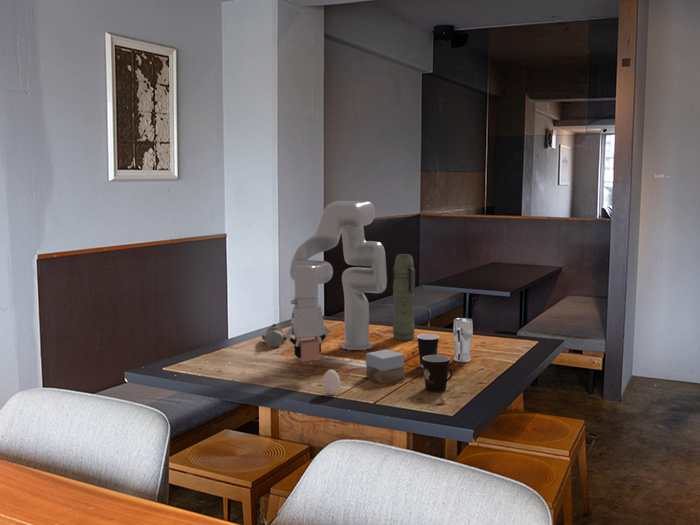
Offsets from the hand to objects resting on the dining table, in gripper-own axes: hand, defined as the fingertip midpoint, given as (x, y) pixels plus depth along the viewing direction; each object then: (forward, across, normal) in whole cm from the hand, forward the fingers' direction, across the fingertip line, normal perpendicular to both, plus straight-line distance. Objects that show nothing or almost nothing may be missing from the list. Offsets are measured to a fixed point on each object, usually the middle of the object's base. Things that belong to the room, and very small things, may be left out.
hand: (307, 355), depth 235 cm
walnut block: (+9, +24, -8) cm, 27 cm away
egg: (+8, +1, -18) cm, 20 cm away
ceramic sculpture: (+10, +4, +53) cm, 54 cm away
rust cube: (+1, 0, 0) cm, 1 cm away
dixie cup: (+10, +44, -1) cm, 45 cm away
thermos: (+11, +56, +42) cm, 71 cm away
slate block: (+5, +24, -8) cm, 26 cm away
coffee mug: (+9, +33, -27) cm, 44 cm away
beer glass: (+10, +60, +2) cm, 61 cm away
